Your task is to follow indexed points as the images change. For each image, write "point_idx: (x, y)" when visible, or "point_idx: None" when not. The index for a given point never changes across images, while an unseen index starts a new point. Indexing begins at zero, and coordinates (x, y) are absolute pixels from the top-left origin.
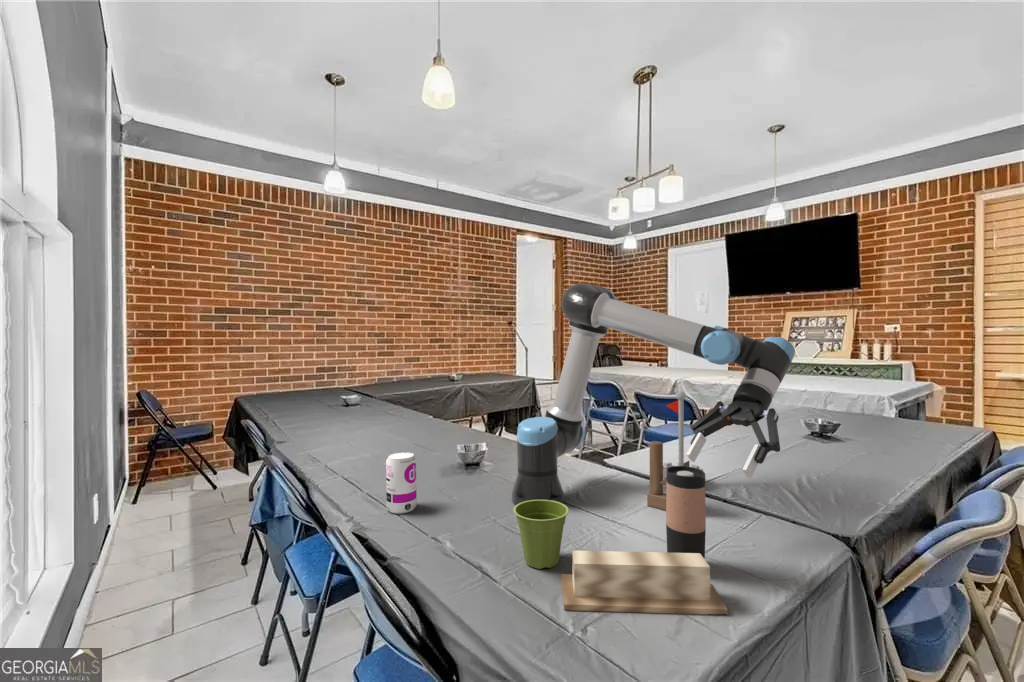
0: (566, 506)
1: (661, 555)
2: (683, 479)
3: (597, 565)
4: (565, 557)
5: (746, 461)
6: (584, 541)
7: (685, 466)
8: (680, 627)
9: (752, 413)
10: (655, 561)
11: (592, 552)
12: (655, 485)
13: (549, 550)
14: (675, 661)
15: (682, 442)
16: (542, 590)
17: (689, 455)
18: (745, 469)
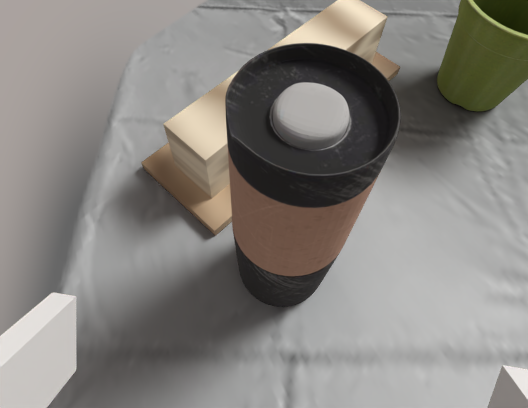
0: (519, 34)
1: None
2: (276, 55)
3: (320, 13)
4: (459, 123)
5: (35, 335)
6: (503, 197)
7: (363, 166)
8: (189, 98)
9: None
10: None
11: (358, 31)
12: None
13: (447, 47)
14: (164, 46)
15: None
16: (387, 40)
17: (501, 371)
18: (54, 295)
